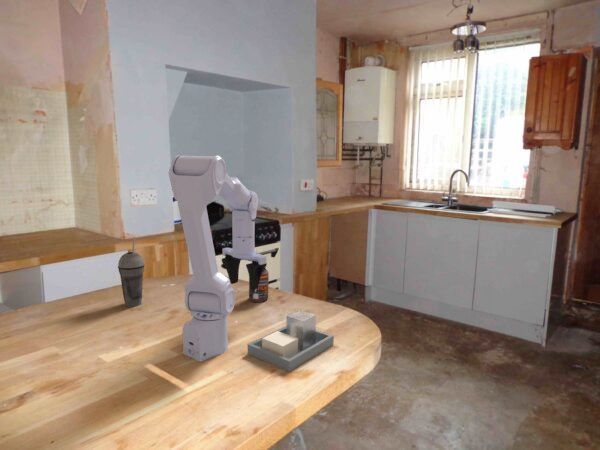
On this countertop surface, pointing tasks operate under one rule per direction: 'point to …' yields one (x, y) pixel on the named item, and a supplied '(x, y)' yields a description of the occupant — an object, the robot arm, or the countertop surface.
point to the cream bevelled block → (281, 344)
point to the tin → (302, 328)
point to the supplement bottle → (260, 288)
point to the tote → (287, 364)
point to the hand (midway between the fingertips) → (243, 285)
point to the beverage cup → (131, 277)
